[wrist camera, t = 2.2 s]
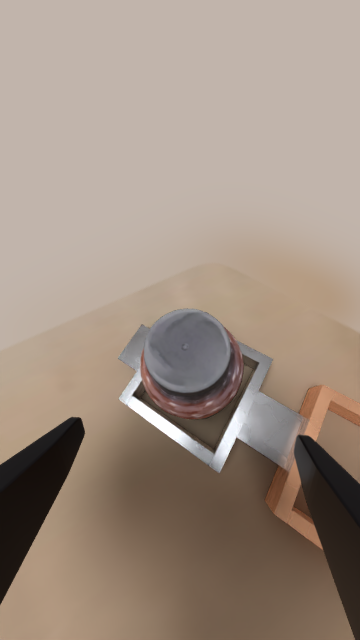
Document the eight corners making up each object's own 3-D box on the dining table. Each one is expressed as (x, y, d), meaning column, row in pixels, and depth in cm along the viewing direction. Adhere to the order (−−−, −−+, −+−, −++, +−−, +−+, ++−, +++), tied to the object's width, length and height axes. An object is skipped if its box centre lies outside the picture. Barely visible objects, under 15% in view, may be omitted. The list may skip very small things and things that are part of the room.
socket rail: (490, 484, 15) (541, 496, 12) (472, 651, 12) (533, 706, 10) (158, 309, 23) (153, 297, 21) (105, 384, 21) (93, 380, 18)
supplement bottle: (211, 433, 18) (214, 456, 8) (153, 396, 20) (93, 374, 10) (241, 370, 20) (275, 321, 9) (185, 341, 22) (163, 273, 11)
